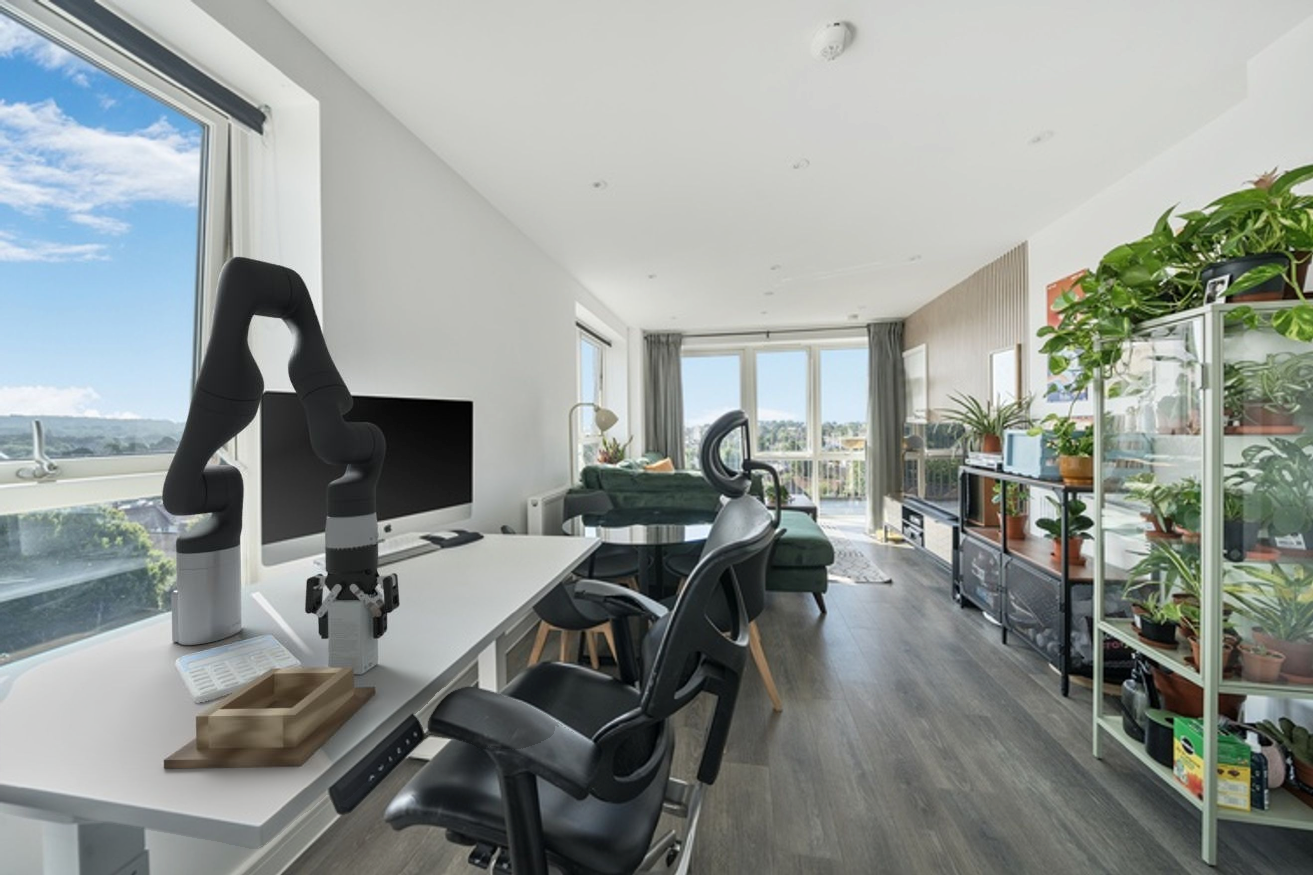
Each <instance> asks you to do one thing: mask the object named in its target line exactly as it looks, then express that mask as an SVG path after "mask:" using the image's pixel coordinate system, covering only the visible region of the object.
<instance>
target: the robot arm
mask: <svg viewBox="0 0 1313 875" xmlns="http://www.w3.org/2000/svg"><path fill="white" fill-rule="evenodd" d="M213 304H214V305H213V308H212V309H213V310H212V315H211V316H212V317H211V325H210V331H209V337H208V340H207V344H206V348H205V350H204V351H205V353H204V356H203V360H202V363H201V366H200V369H199V372H198V375H197V378H196V381H195V385H194V389H193V393H192V396H191V401H190V405H189V410H188V414H187V416H186V418H187V419H186V421H185V426H184V429H183V433H182V436H181V438H180V441H179V444H178V447H177V449H176V452H175V454H174V455H173V459H172V461H171V462H170V466H169V468H168V471H167V473H166V475H165V478H164V483H163V486H162V494H161V495H162V496H161V497H162V498H161V499H162V504H163V507H164V509H165V511H166V512H167V513H168V514H170V515H172V516H182V517H186V516H196V515H203V514H211V516H210V518H209V519H208V520H207V521H205V522H204V523H203V524H202V525H200V526H198V527H196V528H193V529H191V530H189V531H187V532H185V533H182V534H181V535H179V536H178V537H177V538H176V541H175V554H176V555H175V557H176V558H175V559H176V564H175V565H176V589H175V590H173V591H172V592H171V636H172V637H171V642H173V643H178V644H179V645H182V646H193V645H202V644H203V645H204V644H208V643H212V642H217V641H220V640H221V641H222V640H224V639H227V638H230V637H232V636H234V635H236V634H238V633H239V632H241V631H242V628H243V626H242V624H243V623H242V622H243V621H242V565H241V564H242V561H241V560H242V559H241V536H242V531H243V515H244V514H243V513H244V512H243V510H244V498H245V497H244V495H245V493H244V492H245V490H244V489H245V488H244V478H243V476H242V473H241V471H240V469H239V468H238V467H237V466H235V465H232V464H217V465H215V464H214V465H208V463H209V462H210V460H211V458H213V456H214V455H215V454H216V452H217V451H218V450H219V449H220V448H222V447H224V445H226V444H227V443H228V442H229V441H231V440H232V439H233V438H235V437H237V435H239V434H240V433H241V432H242V431H243V430H245V429H246V428H247V427H248V426H249V425H250V424H251V423H252V422H253V421H254V419H255V418H256V417H257V416H256V415H257V413H258V411H259V408H260V405H261V401H262V398H263V395H264V390H265V381H264V377H263V374H262V372H261V370H260V367H259V365H258V364H257V361H256V359H255V357H254V356H253V353H252V352H251V349H250V345H249V341H248V340H249V330H250V325H251V322H252V319H253V317H254V316H258V317H265V318H266V317H267V318H273V319H281V320H282V321H283V323H284V324H285V325H286V326H287V328H288V329H289V331H290V333H291V336H292V346H291V350H290V354H289V357H288V358H289V359H288V362H287V372H288V373H287V374H288V377H289V380H290V384H291V385H292V388H293V389H294V391H295V394H296V395H297V396H298V399H299V401H300V402H301V404H302V406H303V408H304V410H305V414H306V421H307V426H308V432H309V438H310V443H311V446H312V447H311V448H312V450H313V452H314V453H315V455H316V456H317V457H318V458H319V459H320V460H321V461H322V462H324V463H326V464H328V465H332V466H342V465H343V466H344V465H347V467H346V470H345V471H344V472H345V473H344V475H342V477H340V478H337V479H335V480H332V481H330V482H329V484H328V485H327V488H326V498H325V499H326V521H325V529H324V530H325V531H324V541H325V542H324V543H325V544H324V545H325V546H324V547H325V549H324V551H325V552H324V553H325V558H324V560H325V572H326V573H327V575H323V574H322V573H318V574H315V575H313V576H311V577H308V578H307V579H306V586H305V588H306V589H305V605H304V606H305V608H304V609H305V613H306V614H313V615H315V616H316V617H317V619H318V621H317V622H318V623H317V624H318V634H319V636H320V637H321V639H322V640H329V639H328V607H329V606H330V604H331V603H332V602H333V601H335V599H336V600H360V601H363V603H364V606H365V607H367V608H369V609H370V610H371V611H372V613H373V614H374V615H375V617H373V638H374V639H380V638H382V637H383V636H384V635H385V633H387V631H388V614H390V613H392V612H393V611H394V610H396V609H398V608H399V607H400V592H399V579H398V575H397V573H395V572H393V573H390V574H388V575H380V574H379V571H378V567H379V537H380V536H379V524H378V519H377V500H376V499H377V497H376V496H377V493H376V489H377V485H378V482H379V479H380V477H381V476H380V475H381V473H382V472H381V470H382V468H383V464H384V460H385V458H386V457H385V455H386V449H387V448H386V447H387V444H386V438H385V436H384V434H383V432H382V430H381V428H379V426H377V425H376V424H373V423H371V422H365V421H364V422H363V421H362V422H360V421H357V422H356V421H345V420H344V418H343V415H345V414H347V413H348V412H350V410H351V409H352V408H353V406H354V398H353V397H352V394H351V392H350V390H349V389H348V388H349V387H348V386H347V385H346V384H347V383H345V380H344V379H343V377H342V376H341V374H340V372H339V370H338V368H337V367H336V365H335V362H334V360H333V359H332V356H331V354H330V351H329V348H328V346H327V343H326V340H325V337H324V334H323V330H322V327H321V324H320V320H319V317H318V315H317V312H316V309H315V306H314V304H313V300H312V297H311V294H310V291H309V289H308V288H307V284H306V283H305V281H304V279H303V278H302V277H301V275H300V274H299V273H298V272H297V271H296V270H294V269H292V268H290V267H287V266H283V265H280V264H275V263H271V262H266V261H263V260H258V259H254V258H249V257H243V256H234V257H233V256H232V257H231V258H229V259H228V260H226V261H225V263H224V264H223V266H222V268H221V270H220V273H219V275H218V279H217V284H216V291H215V296H214V303H213ZM378 585H380V588H381V589H382V590H383V594H382V593H381V592H380V590H379V589H378V588H377V586H378ZM325 587H326V588H327V589H328V591H329V593H328V595H327V596H326V597H325V599H324V600H323V598H324V597H323V595H324V593H323V592H324V588H325ZM370 595H375V596H374V598H370V597H369V596H370Z"/></svg>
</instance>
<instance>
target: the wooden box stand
mask: <svg viewBox="0 0 1313 875" xmlns="http://www.w3.org/2000/svg"><path fill="white" fill-rule="evenodd" d="M374 695H376V686H355V674H354V667H349V668H329V667H302V668H271V669H270V670H268V671H267V672H265V673H263V674H262V675H260V676H259V677H257V678H256V679H254V680H252V681H251V682H249V683H248V684H246V685H245V686H243V687H241V688H240V689H238V690H237V691H235V692H234V693H232V694H229V695H226V696H225V697H224V698H223V699H221V700H220V701H218V702H216V703H215V704H213V705H212V706H210V707H208V708H206V709H205V710H204V711H202V712H200V713H199V714H198V715H196V716H195V735H196V736H195V738H194V739H192V740H190V741H189V742H188V743H187V744H185V745H184V746H181V748H179V749H178V750H176V751H175V752H173V753H171V754H170V755H169V756H168V757H166V758H165V759H163V769H196V768H198V769H202V768H203V769H204V768H206V769H207V768H210V769H211V768H213V769H214V768H259V767H260V768H263V767H264V768H265V767H268V768H269V767H301V766H302V765H303V764H305V762H306V761H308V760H309V758H311V756H313V755H314V754H315V753H316V752H317V751H318V750H319V749H320V748H321V747H322V746H323V745H324V744H325V743H326V742H327V741H329V739H330V738H331V737H332V736H334V735H335V734H336V732H338V730H340V729H341V727H342V726H344V725H345V723H347V722H348V721H349V720H350V719H351V718H352V717H353V716H354V715H355V714H356V713H357V712H358V711H359V710H360V709H361V708H362V707H363V706H364V705H366V704H367V702H368V701H370V700H371V698H372V697H373V696H374Z"/></svg>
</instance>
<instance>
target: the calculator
mask: <svg viewBox="0 0 1313 875" xmlns="http://www.w3.org/2000/svg"><path fill="white" fill-rule="evenodd" d="M174 666H175V669H176V671H177V673H178V675H179V676H180V680H182V682H183V684H184V686H185V688H186V690H187V692H188V694H189V695H191V696H190V698H191V697H192V698H191V699H192V701H193V702H194V703H195V702H196V703H195V704H200V703H199V702H203V703H206V702H205V701H207V702H209V701H208V700H210V701H212V700H211V699H213V700H215V699H214V698H217V699H219V698H218V697H220V698H222V697H221V696H223V697H225V696H224V695H226V696H228V695H227V694H229V695H230V694H231V693H234V692H235V691H237V690H238V689H240V688H241V687H243V686H245V685H246V684H248V683H249V682H251V681H252V680H254V679H256V678H257V677H259V676H260V675H262V674H263V673H265V672H267V671H268V670H270V669H271V668H303V667H302V663H301V661H300V660H299V659H298V658H297V657H295V656H294V654H293V653H291V651H289V650H288V649H287V648H286V647H285V646H284V645H282V644H281V643H280V642H279V641H278V640H277V639H276V638H275V637H274V636H273V635H271V634H264V635H263V634H262V635H259V636H255V637H251V638H246V639H244V640H243V639H242V640H239V641H236V642H231V643H227V644H224V645H221V646H216V647H213V648H208V649H206V650H205V649H204V650H201V651H198V652H193V653H189V654H186V655H183V656H180V657H178V658H177V659H176V660H175V665H174Z"/></svg>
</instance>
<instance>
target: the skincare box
mask: <svg viewBox="0 0 1313 875" xmlns="http://www.w3.org/2000/svg"><path fill="white" fill-rule="evenodd" d="M374 596H375V595H370V596H369V597H370V598H374ZM373 617H375V615H374V614H373V613H372V611H371V610H370V609H369V608H367V607H365V606H364V603H363V601H360V600H336V599H335V601H333V602H332V603H331V604H330V606H329V607H328V639H327V640H328V668H349V667H354V675H364V674H365V673H367V671H369V670H371V669H372V668H373V667H375V666H376V665H378V664H379V643H378V642H379V640H378V639H374V638H373Z"/></svg>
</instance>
